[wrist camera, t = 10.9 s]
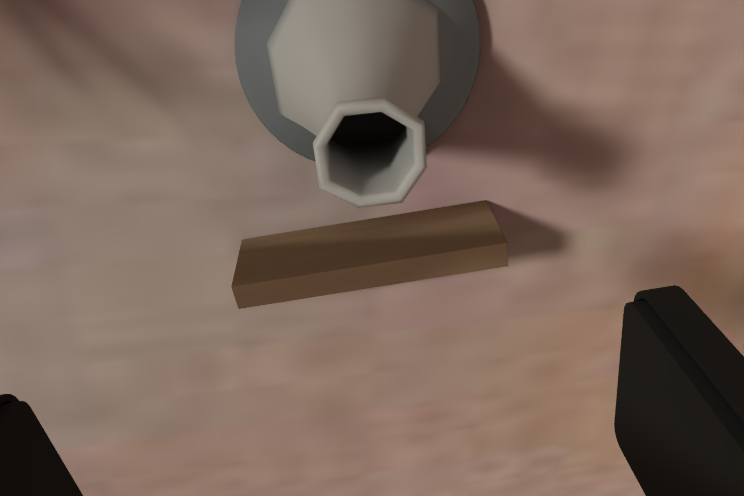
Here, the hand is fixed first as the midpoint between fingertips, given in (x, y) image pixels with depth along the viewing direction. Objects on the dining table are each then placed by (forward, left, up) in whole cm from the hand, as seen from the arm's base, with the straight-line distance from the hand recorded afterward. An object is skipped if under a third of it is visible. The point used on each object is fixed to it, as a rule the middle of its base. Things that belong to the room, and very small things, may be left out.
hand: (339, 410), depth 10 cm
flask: (+1, -1, -19) cm, 19 cm away
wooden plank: (-8, 0, -19) cm, 21 cm away
